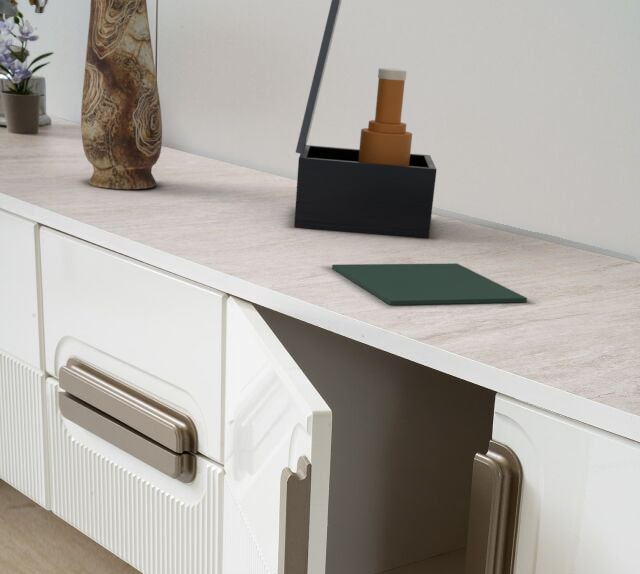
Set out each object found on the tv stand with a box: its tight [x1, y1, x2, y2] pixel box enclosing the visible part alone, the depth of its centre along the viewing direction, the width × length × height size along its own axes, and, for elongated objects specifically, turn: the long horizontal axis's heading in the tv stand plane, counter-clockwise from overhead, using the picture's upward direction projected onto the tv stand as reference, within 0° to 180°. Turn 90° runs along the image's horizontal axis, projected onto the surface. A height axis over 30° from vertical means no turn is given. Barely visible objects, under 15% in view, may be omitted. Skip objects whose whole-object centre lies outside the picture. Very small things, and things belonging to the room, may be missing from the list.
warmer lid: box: [295, 0, 343, 155], centre depth 129 cm, size 16×13×1 cm
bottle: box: [358, 67, 413, 166], centre depth 132 cm, size 6×6×17 cm
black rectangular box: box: [293, 144, 437, 239], centre depth 134 cm, size 16×13×8 cm
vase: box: [80, 0, 163, 190], centre depth 142 cm, size 10×11×30 cm
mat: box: [331, 263, 528, 306], centre depth 108 cm, size 14×14×1 cm
